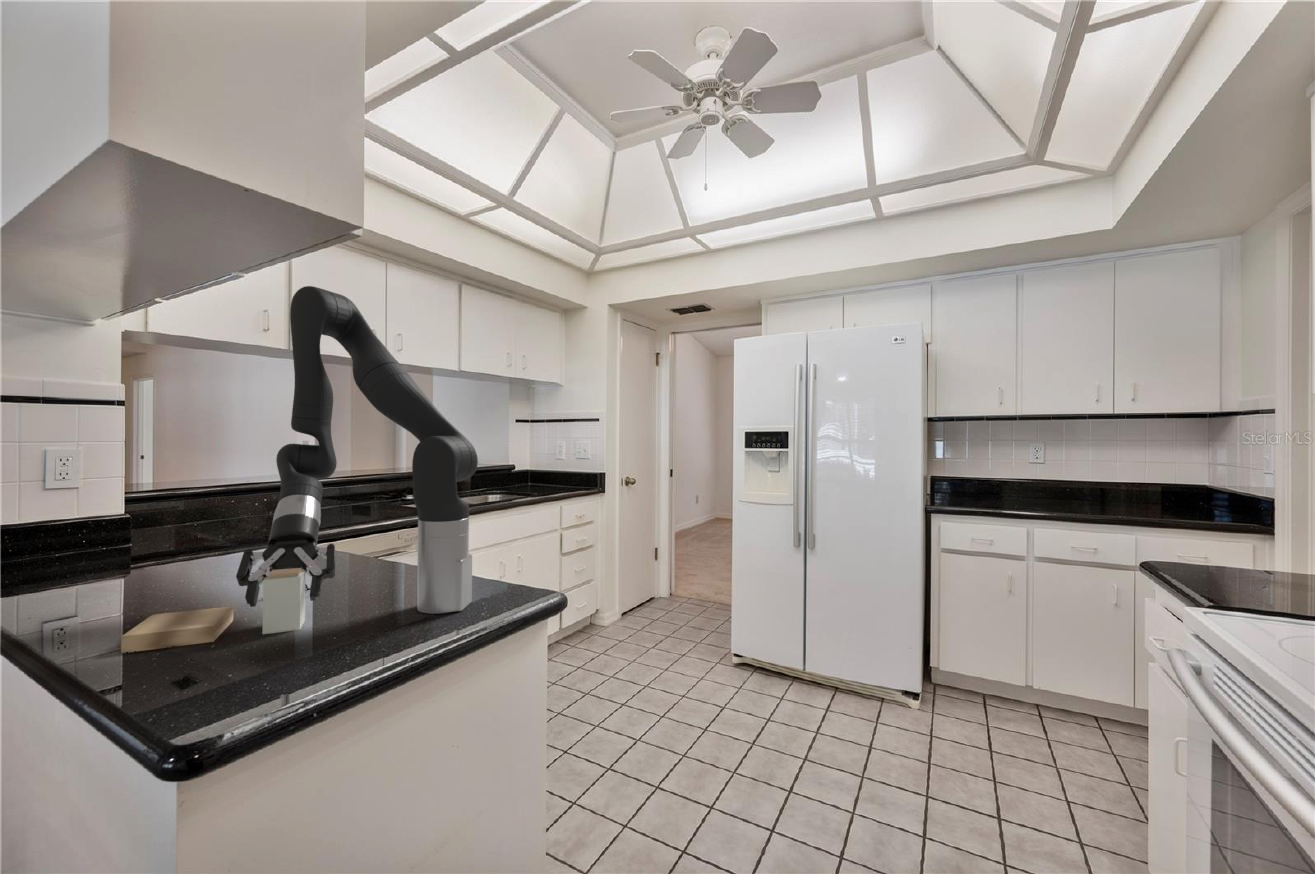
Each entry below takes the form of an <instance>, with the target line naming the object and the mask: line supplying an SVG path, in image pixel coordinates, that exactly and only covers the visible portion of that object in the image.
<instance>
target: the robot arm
mask: <svg viewBox="0 0 1315 874" xmlns="http://www.w3.org/2000/svg"><path fill="white" fill-rule="evenodd" d="M289 310H290V312H289V318H290V319H289V321H290V333H291V346H292V348H291V350H292V357H293V360H292V361H293V370H294V388H293V389H294V390H293V400H292V411H291V419H290V422H291V423H290V426H291V427H290V428H291V429H292V430H293V431H295V432H298V433H300V434H305V435H308V436H310V437H313V438H315V440H316V441H317V442H318V444H317V445H316V444H304V443H303V444H301V443H289V444H288V443H287V444H285V445H283V446H282V447H281V448H280V449H278V452H277V453H276V468H277V471H278V475H279V478H280V493H279V496H278V502H277V506H276V508H275V510H274V514H273V518H272V519H273V520H272V524H271V526H270V527H271V529H270V531H269V537H268V542H267V547H266V548H265V549H264V550H263V551H253V550H252V549H251V548H248V549H246V550H244V551H243V553H242V557H241V561H240V563H239V566H238V569H237V572H236V575H235V578H236V581H237V583H238V586H240V587H244V586H245V587H246V592H245V596H244V598H245V601H246V603H247V605H249V607H250V608H253V607H256V606H257V605H258V604H257V603H258V598H259V594H260V589H261V587H260V586H261V585H263V580H264V579H265V578H266V577H267V575H268V574H269V573H270V572H271V571H272V570H278V569H290V568H302V567H303V570H306V574H307V575H308V576H309V577H311V583H310V588H311V589H310V590H309V591H310V592H309V598H310V599H309V600H310V601H311V602H313V601H316V599H317V598H319V597H320V596H321V595H322V586H323V582H324V580H326V579H333V578H334V577H335V576H336V546H335V544H333V543H330V544H327V545H326V547H318V539H319V531H320V526H321V517H322V512H321V505H322V500H323V493H324V492H323V491H324V490H323V489H324V487H323V484H322V482H321V481H320V480H319V479H328V478H329V477H331V476H332V475H333V474H334V473H335V471H336V470H337V466H338V465H337V456H336V452H335V449H334V443H333V438H332V418H333V417H332V416H333V411H334V410H333V409H334V392H333V387H332V383H331V380H330V379H329V376H328V373H327V372H326V369H325V366H324V363H323V359H322V354H321V338H322V336H326V337H330V338H332V339H334V340H335V341H336V342H338V343H339V344H340V345H341V347H343V349H344V350H345V351H346V352H347V353H348V354H349V355H348V356H350V358H351V360H352V376H353V380H354V382H355V384H356V386H357V388H358V389H359V391H360V392H361V393H362V394H363V396H364V397H365V398H366V399H367V400H368V402H369V403H370V404H371V405H372V406H373V407H374V408H375V409H376V411H378V412H379V413H380V414H382V415H384V417H386V418H387V419H388V420H391V421H392V422H394V423H395V424H397V425H398V426H400V427H401V428H403V429H404V430H406V431H407V432H409V433H410V434H411V435H413V436H414V437H415V438H416V439H417V440H418V441H419V442H418V443H417V446H415V449H414V452H413V457H412V462H411V463H412V464H411V466H412V467H411V468H412V469H411V470H412V471H411V472H412V491H413V492H412V493H413V495H412V496H413V502H414V506H415V508H416V511H417V581H416V582H417V585H416V592H417V594H416V601H417V602H416V603H417V604H416V606H417V607H416V609H417V611H418V612H420V613H421V614H422V613H424V614H431V615H432V614H433V615H434V614H447V613H452V612H462V611H463V610H465V608H467V606H469V605H470V604H471V603H472V602H473V554H471V553H470V551H469V549H470V544H469V543H470V542H469V541H470V505H469V503H468V502H467V501H466V500H463V499H461V498H460V496H459V495H458V485H457V484H458V482H462V481H466V480H468V479H470V478H471V477H472V476H473V475H474V474H475V473H476V471H477V468H478V465H479V463H478V461H479V460H478V454H477V451H476V449H475V447H474V445H473V444H472V443H471V442H470V440H469V439H468V438H466V436H465V435H464V434H463V433H461V431H459V429H457V428H456V427H455V426H454V425H453V424H452V423H451V422H450V421H449V420H448V419H446V417H445V416H444V415H443V414H442V413H441V411H440V410H438V408H437V407H436V406H435V405H434V404H433V402H432V401H431V400H430V399H429V397H428V396H427V395H426V394H425V393H424V392H423V390H422V389H421V388H420V387H419V385H418V384H417V383H416V382H415V380H414V379H413V378H412V377H411V375H410V374H409V373H408V372H407V370H406V369H405V368H404V367H403V365H401V363H400V362H399V361H398V360H397V359H396V358H395V357H394V356H393V354H392V353H391V352H390V351H389V349H387V347H386V346H385V345H384V344H383V342H382V341H381V340H380V339H379V338H378V336H377V335H376V333H374V331H373V330H372V328H371V327H370V325H369V324H368V322H367V321H366V319H365V318H364V316H363V314H362V313H361V311H360V309H359V308H358V307H357V306H356V304H355V303H354V302H353V301H352V300H351V299H350V298H348V297H346V296H345V295H342V294H340V293H337V292H333V291H330V290H327V289H324V288H320V287H316V286H314V285H313V286H312V285H308V286H307V285H305V286H302V287H301V288H299V289H297V291H296V292H295V293H294V295H293V296H292V299H291V302H290V309H289ZM319 556H322V559H323V560H326V563H325V565H326V567H325V568H324V569H321V568H320V567H319V566H318V565H317V564H316V562H315V560H316V559H317V558H319ZM260 560H263V563H261V564H260V565H259V566H258V568H257V570H255V571H254V572H253V573H252V574H251V572H252V569H253V567H254V566H256V565H257V564H258V562H259V561H260Z"/></svg>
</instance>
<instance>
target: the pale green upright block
mask: <svg viewBox="0 0 1315 874" xmlns="http://www.w3.org/2000/svg"><path fill="white" fill-rule="evenodd" d="M306 574H307V573H306V570H303V567H302V568H290V569H278V570H272V571H271V572H270V573H269V574H268V575H267V577H266V578H265V579H264V580H263V583H262V635H267V634H268V635H269V634H276V633H283V632H292V631H299V630H301V628H302V627H303V625H304V623H305V621H306V591H305V587H306V586H305V584H306Z"/></svg>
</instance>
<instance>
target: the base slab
mask: <svg viewBox="0 0 1315 874" xmlns="http://www.w3.org/2000/svg"><path fill="white" fill-rule="evenodd" d="M234 607H235V606H233V605H232V606H224V607H223V606H222V607H214V608H212V607H211V608H205V609H204V608H203V609H194V610H185V611H176V612H175V611H174V612H166V613H165V612H163V613H155V614H151V615H150V616H148V617H147V618H145V619H144V620H143V621H141V622H140V623H139V624H137V625H136V626H134V627H133V628H131V629H130V630H128V631H127V632H126V633H124V634H123V635H121V640H120V641H121V642H120V643H121V645H120V646H121V647H120V653H121V654H126V652H128V653H134V652H135V651H136V652H142V651H151V650H152V651H153V650H158V649H164V648H165V649H167V647H168V648H173V647H172V646H175V647H182V646H190V645H197V644H206V643H211V642H212V643H213V642H215V640H217V639H218V638H219V636H220V635H221V634H222V633H223V632H224V631H225V630H226V629H227V628H228V627H229V626H230V624H232V622H233V621H234ZM136 652H135V653H136Z"/></svg>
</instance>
